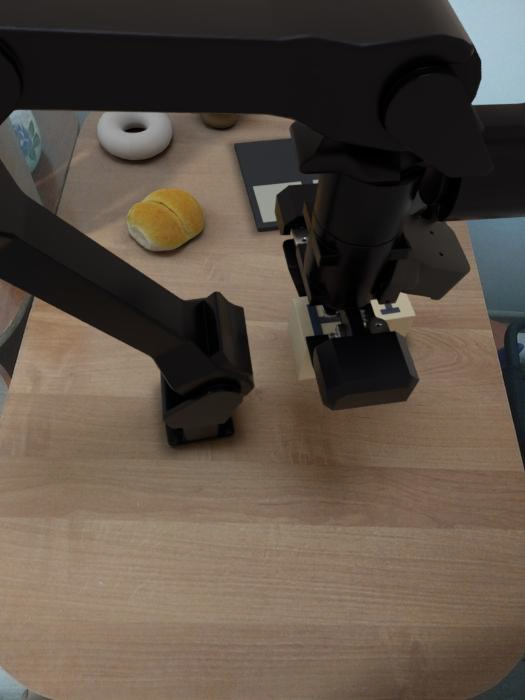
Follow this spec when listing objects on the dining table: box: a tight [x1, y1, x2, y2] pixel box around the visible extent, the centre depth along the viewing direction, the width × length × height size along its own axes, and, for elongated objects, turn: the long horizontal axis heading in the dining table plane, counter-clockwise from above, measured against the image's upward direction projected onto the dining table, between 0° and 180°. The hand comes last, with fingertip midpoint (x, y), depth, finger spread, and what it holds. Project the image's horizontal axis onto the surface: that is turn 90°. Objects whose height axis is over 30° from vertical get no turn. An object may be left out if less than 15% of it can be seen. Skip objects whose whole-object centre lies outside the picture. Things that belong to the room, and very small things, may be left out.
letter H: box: [286, 296, 341, 381], centre depth 46 cm, size 5×5×5 cm
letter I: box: [364, 292, 417, 338], centre depth 60 cm, size 5×5×5 cm
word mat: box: [234, 137, 320, 232], centre depth 74 cm, size 16×16×1 cm
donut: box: [96, 112, 173, 161], centre depth 75 cm, size 10×4×10 cm
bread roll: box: [126, 187, 205, 252], centre depth 67 cm, size 8×9×4 cm
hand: (321, 346), depth 48 cm, fingers closed on letter H, 5 cm apart
